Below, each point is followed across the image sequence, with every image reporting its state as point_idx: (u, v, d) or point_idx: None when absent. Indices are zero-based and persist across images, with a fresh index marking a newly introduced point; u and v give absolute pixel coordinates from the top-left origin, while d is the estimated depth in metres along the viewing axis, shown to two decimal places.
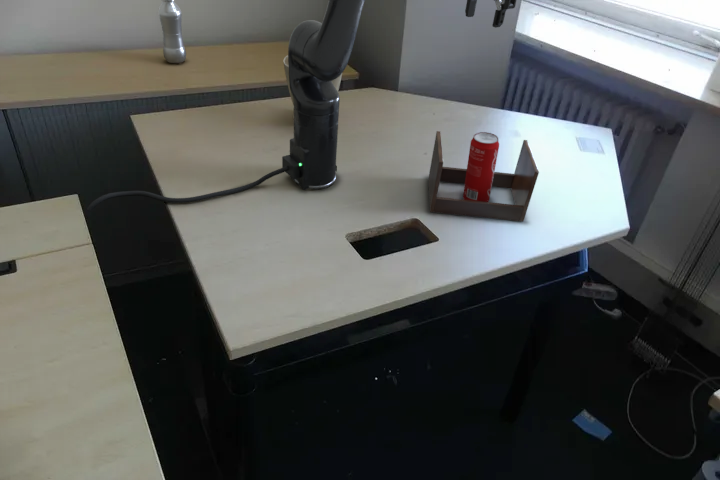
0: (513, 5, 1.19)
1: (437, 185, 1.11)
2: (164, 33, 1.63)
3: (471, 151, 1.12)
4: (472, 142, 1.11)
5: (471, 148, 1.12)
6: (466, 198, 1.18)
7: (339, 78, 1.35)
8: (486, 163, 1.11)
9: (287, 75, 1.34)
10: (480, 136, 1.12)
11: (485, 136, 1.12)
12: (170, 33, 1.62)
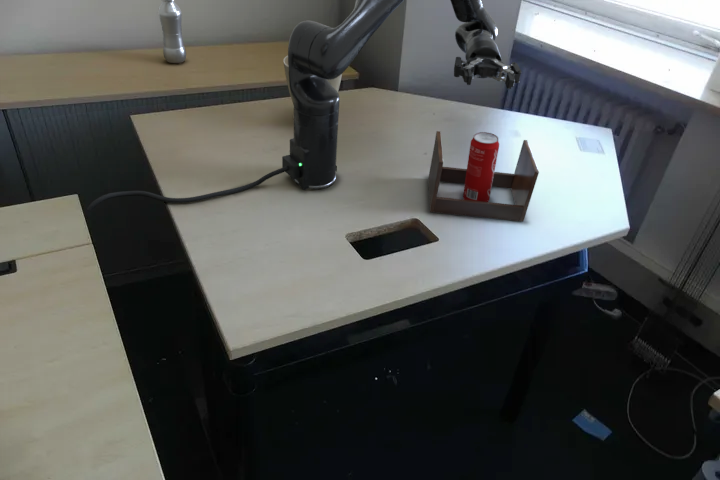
0: None
1: (437, 185, 1.11)
2: (164, 33, 1.63)
3: (471, 151, 1.12)
4: (472, 142, 1.11)
5: (471, 148, 1.12)
6: (466, 198, 1.18)
7: (339, 78, 1.35)
8: (486, 163, 1.11)
9: (287, 75, 1.34)
10: (480, 136, 1.12)
11: (485, 136, 1.12)
12: (170, 33, 1.62)
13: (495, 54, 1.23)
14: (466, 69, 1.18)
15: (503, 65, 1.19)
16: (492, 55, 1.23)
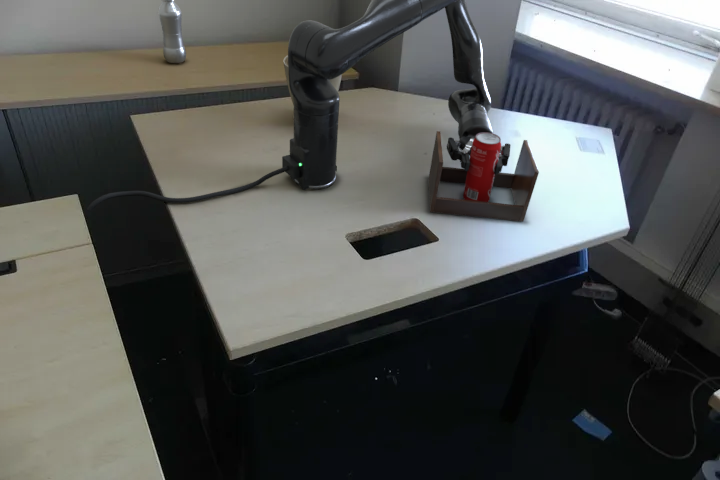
0: None
1: (437, 185, 1.11)
2: (164, 33, 1.63)
3: (473, 151, 1.12)
4: (474, 142, 1.11)
5: (473, 148, 1.12)
6: (466, 198, 1.18)
7: (339, 78, 1.35)
8: (488, 164, 1.11)
9: (287, 75, 1.34)
10: (482, 136, 1.11)
11: (487, 136, 1.11)
12: (170, 33, 1.62)
13: None
14: (464, 153, 1.15)
15: None
16: None
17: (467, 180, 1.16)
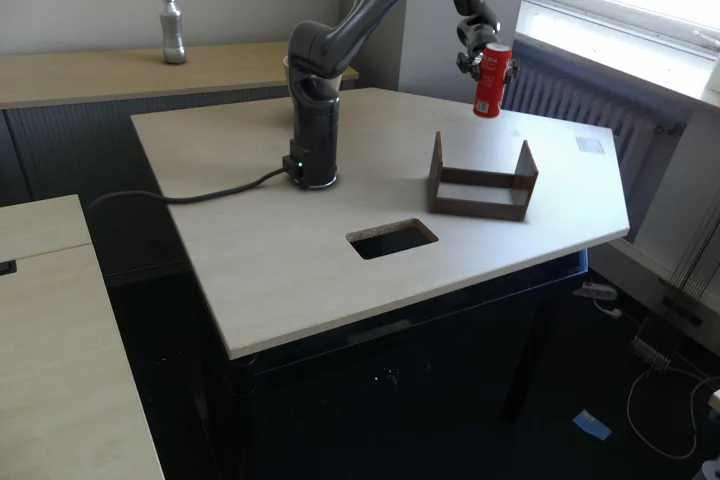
0: None
1: (437, 185, 1.11)
2: (164, 33, 1.63)
3: (483, 60, 1.12)
4: (485, 51, 1.11)
5: (483, 57, 1.12)
6: (476, 111, 1.18)
7: (339, 78, 1.35)
8: (498, 73, 1.12)
9: (287, 75, 1.34)
10: (493, 45, 1.12)
11: (498, 45, 1.12)
12: (170, 33, 1.62)
13: None
14: (474, 65, 1.15)
15: None
16: None
17: (477, 92, 1.17)
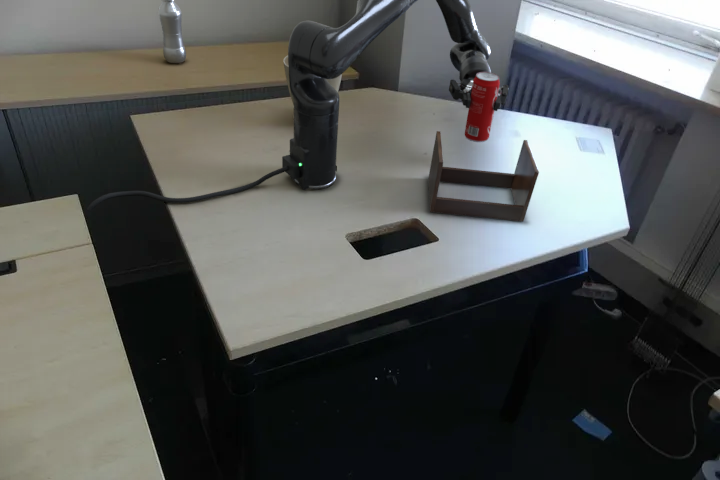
0: None
1: (437, 185, 1.11)
2: (164, 33, 1.63)
3: (473, 89, 1.20)
4: (475, 80, 1.19)
5: (474, 86, 1.20)
6: (467, 135, 1.26)
7: (339, 78, 1.35)
8: (488, 100, 1.20)
9: (287, 75, 1.34)
10: (482, 75, 1.20)
11: (487, 75, 1.20)
12: (170, 33, 1.62)
13: None
14: (465, 92, 1.23)
15: None
16: None
17: (468, 118, 1.25)
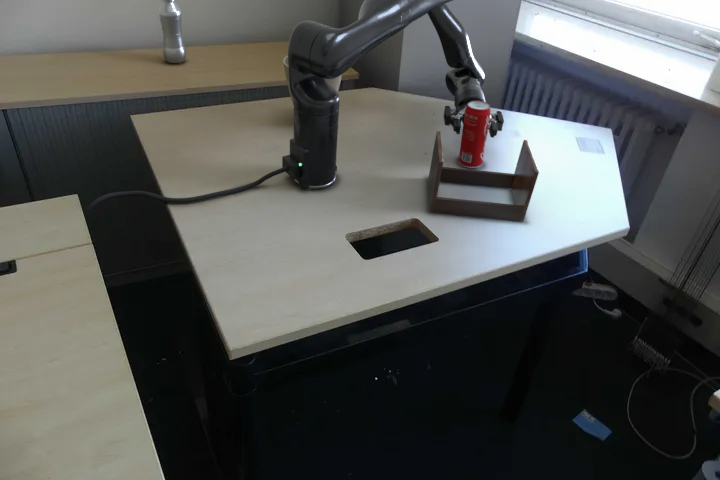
0: None
1: (437, 185, 1.11)
2: (164, 33, 1.63)
3: (465, 117, 1.25)
4: (466, 109, 1.24)
5: (465, 115, 1.25)
6: (461, 161, 1.31)
7: (339, 78, 1.35)
8: (479, 128, 1.24)
9: (287, 75, 1.34)
10: (473, 104, 1.24)
11: (478, 104, 1.24)
12: (170, 33, 1.62)
13: None
14: (456, 119, 1.28)
15: None
16: None
17: (461, 145, 1.29)
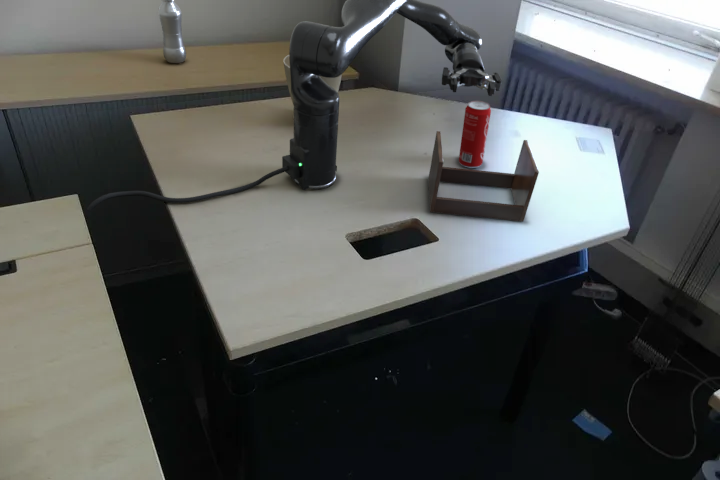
0: None
1: (437, 185, 1.11)
2: (164, 33, 1.63)
3: (466, 117, 1.25)
4: (466, 109, 1.24)
5: (466, 114, 1.25)
6: (461, 161, 1.31)
7: (339, 78, 1.35)
8: (479, 128, 1.24)
9: (287, 75, 1.34)
10: (474, 104, 1.25)
11: (478, 104, 1.24)
12: (170, 33, 1.62)
13: (479, 65, 1.37)
14: (452, 78, 1.32)
15: (485, 75, 1.34)
16: (476, 66, 1.38)
17: (461, 145, 1.29)
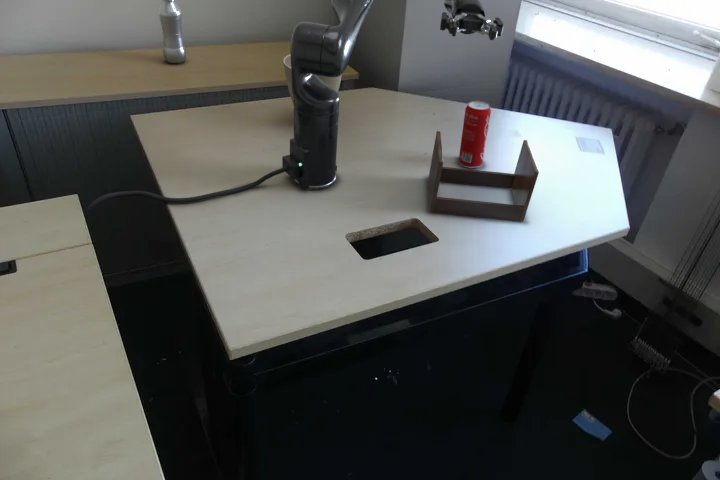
0: None
1: (437, 185, 1.11)
2: (164, 33, 1.63)
3: (466, 117, 1.25)
4: (466, 109, 1.24)
5: (466, 114, 1.25)
6: (461, 161, 1.31)
7: (339, 78, 1.35)
8: (479, 128, 1.24)
9: (287, 75, 1.34)
10: (474, 104, 1.25)
11: (478, 104, 1.24)
12: (170, 33, 1.62)
13: (479, 10, 1.30)
14: (451, 22, 1.24)
15: (486, 19, 1.26)
16: (476, 11, 1.30)
17: (461, 145, 1.29)
